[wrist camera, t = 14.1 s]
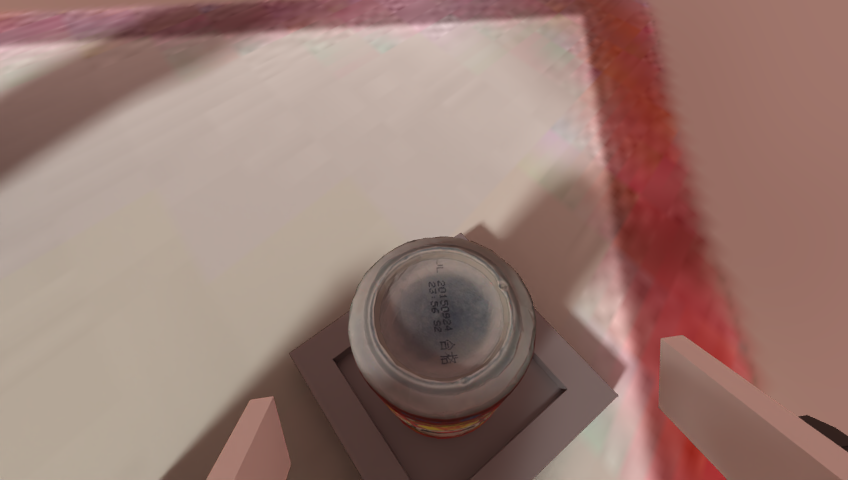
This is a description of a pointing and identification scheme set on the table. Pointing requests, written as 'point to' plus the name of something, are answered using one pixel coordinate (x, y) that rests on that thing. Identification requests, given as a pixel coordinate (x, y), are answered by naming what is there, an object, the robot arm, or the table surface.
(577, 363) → the tray
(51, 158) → the table surface
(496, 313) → the soda can
